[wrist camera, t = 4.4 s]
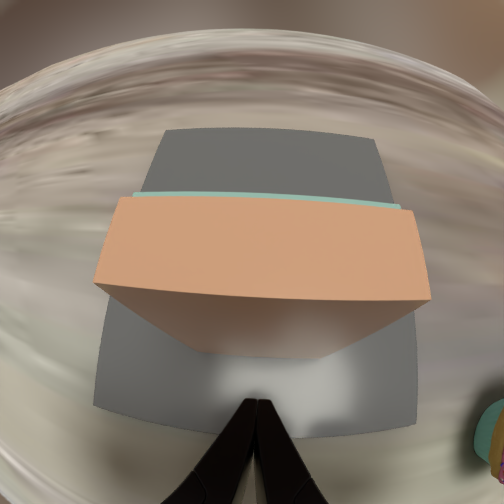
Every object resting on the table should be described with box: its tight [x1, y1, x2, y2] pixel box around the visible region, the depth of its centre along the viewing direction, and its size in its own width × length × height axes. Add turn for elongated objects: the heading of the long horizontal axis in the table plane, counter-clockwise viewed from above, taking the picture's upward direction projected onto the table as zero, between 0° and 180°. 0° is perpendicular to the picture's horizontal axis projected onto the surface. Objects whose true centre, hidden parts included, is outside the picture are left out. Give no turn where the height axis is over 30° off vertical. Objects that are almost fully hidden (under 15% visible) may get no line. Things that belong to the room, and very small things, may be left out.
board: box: [93, 128, 418, 438], centre depth 18 cm, size 24×20×1 cm
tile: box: [93, 191, 431, 358], centre depth 10 cm, size 2×7×11 cm, turn 86°
